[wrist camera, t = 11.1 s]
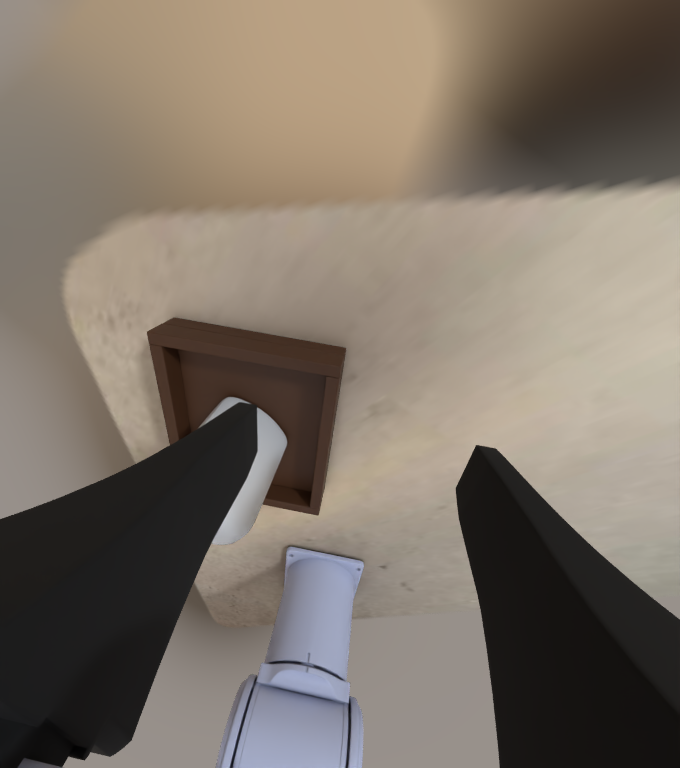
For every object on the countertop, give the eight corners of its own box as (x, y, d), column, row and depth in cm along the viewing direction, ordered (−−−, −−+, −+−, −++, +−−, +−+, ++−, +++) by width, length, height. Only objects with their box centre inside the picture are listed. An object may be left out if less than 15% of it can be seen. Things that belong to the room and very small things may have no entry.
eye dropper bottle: (244, 456, 24) (140, 641, 14) (209, 398, 22) (52, 571, 12) (294, 448, 23) (221, 642, 13) (263, 386, 21) (142, 565, 10)
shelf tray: (324, 489, 27) (318, 515, 25) (196, 463, 27) (178, 487, 25) (346, 347, 20) (341, 366, 18) (173, 317, 20) (146, 331, 18)
